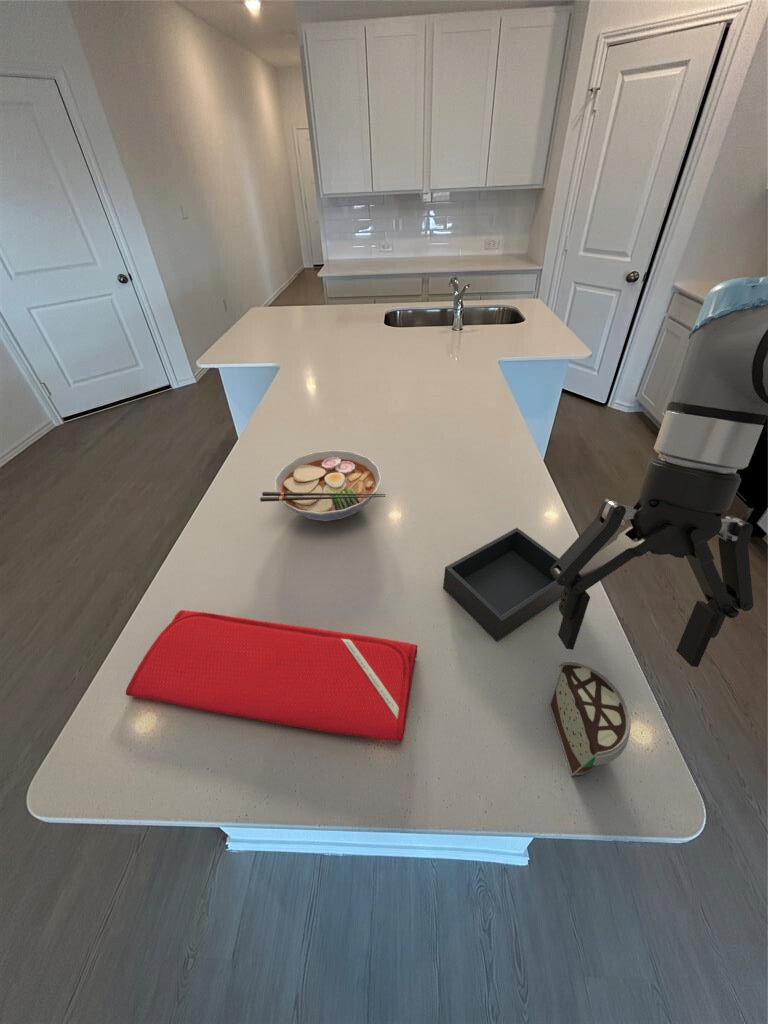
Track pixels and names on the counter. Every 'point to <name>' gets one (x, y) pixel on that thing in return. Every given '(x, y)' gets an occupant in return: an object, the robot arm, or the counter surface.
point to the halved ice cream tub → (588, 717)
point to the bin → (504, 582)
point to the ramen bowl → (326, 484)
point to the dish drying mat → (280, 674)
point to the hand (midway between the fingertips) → (625, 650)
